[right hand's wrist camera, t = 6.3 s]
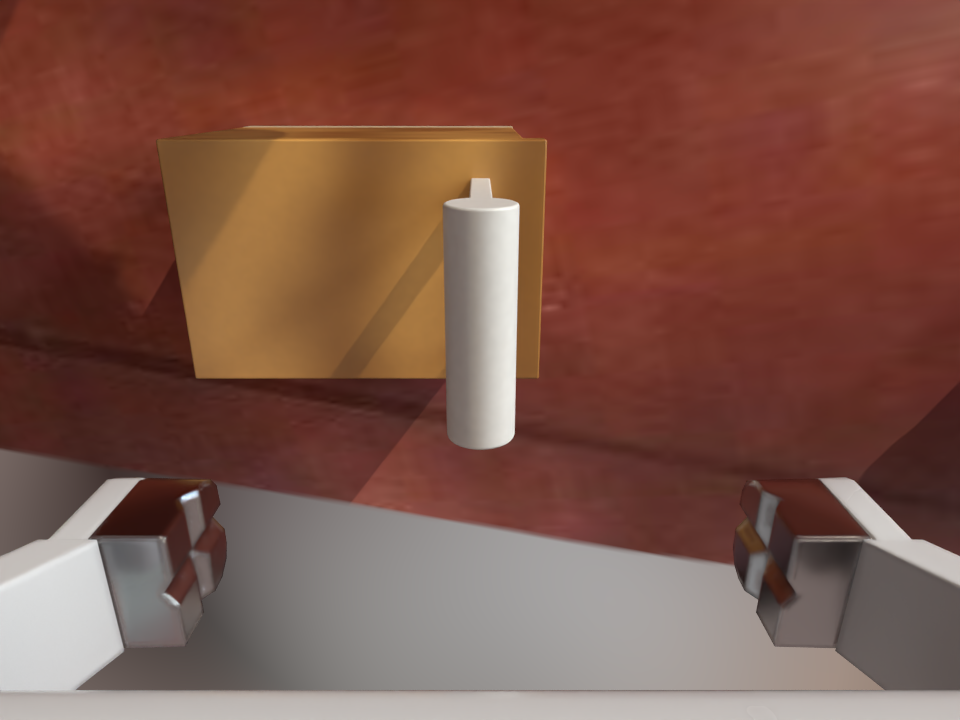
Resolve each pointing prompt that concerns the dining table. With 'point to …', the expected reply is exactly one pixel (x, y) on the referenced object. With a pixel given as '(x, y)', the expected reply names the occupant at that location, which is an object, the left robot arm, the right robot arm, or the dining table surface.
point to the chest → (362, 132)
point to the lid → (365, 263)
